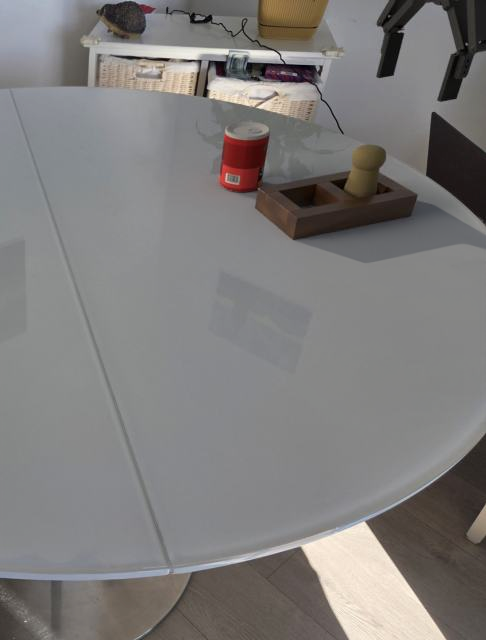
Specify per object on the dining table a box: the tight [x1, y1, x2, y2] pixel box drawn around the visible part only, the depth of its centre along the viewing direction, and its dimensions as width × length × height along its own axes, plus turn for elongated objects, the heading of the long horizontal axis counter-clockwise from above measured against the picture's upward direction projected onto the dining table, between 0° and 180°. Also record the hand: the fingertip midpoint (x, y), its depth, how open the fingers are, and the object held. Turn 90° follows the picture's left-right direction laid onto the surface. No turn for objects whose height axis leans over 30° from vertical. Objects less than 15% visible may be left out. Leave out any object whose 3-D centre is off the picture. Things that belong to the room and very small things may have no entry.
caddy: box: [254, 170, 419, 241], centre depth 112 cm, size 12×22×4 cm, turn 104°
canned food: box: [218, 121, 271, 193], centre depth 121 cm, size 8×8×11 cm
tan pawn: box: [343, 144, 387, 199], centre depth 111 cm, size 6×6×11 cm
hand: (414, 87), depth 100 cm, fingers open, 13 cm apart
